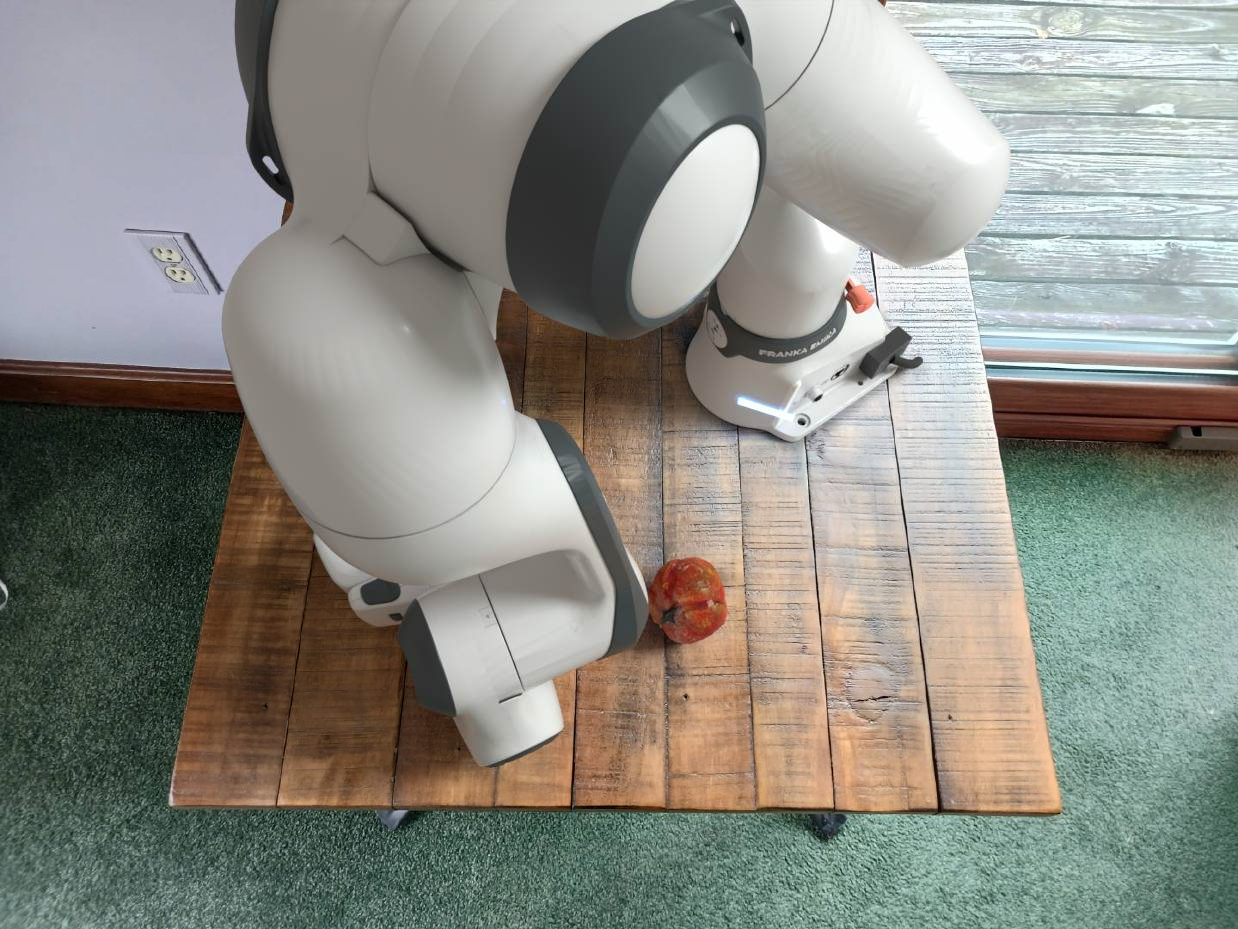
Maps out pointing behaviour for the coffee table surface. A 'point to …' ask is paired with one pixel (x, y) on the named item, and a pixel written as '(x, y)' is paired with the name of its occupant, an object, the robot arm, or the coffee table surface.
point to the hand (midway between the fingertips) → (405, 446)
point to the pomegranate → (687, 600)
